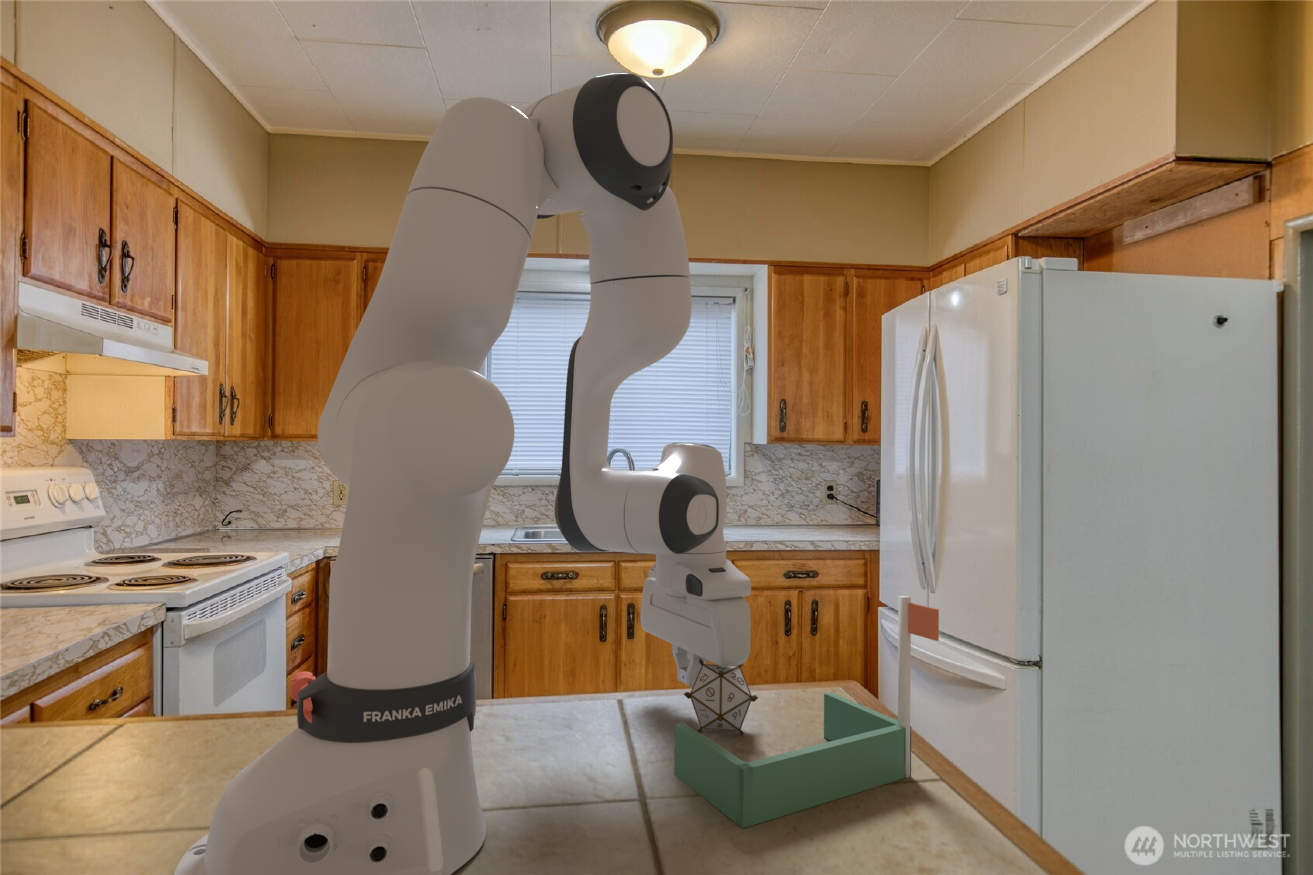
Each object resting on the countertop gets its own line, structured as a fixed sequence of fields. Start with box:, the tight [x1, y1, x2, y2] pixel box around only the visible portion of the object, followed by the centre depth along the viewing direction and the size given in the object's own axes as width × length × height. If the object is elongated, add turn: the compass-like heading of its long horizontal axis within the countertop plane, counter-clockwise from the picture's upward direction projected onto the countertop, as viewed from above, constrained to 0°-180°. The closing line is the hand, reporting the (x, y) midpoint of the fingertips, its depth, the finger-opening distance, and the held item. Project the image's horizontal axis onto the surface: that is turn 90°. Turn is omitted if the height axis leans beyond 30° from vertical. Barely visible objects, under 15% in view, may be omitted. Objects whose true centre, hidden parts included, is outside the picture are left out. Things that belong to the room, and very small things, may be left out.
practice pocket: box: [673, 595, 940, 829], centre depth 69 cm, size 21×15×18 cm
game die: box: [683, 658, 759, 738], centre depth 82 cm, size 9×8×10 cm
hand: (689, 683), depth 88 cm, fingers closed
